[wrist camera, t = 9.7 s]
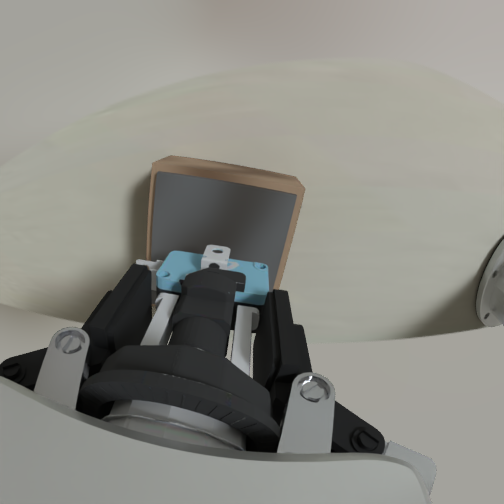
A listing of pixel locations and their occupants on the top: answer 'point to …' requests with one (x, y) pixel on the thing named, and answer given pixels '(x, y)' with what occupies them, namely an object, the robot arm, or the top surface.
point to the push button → (192, 358)
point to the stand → (222, 212)
